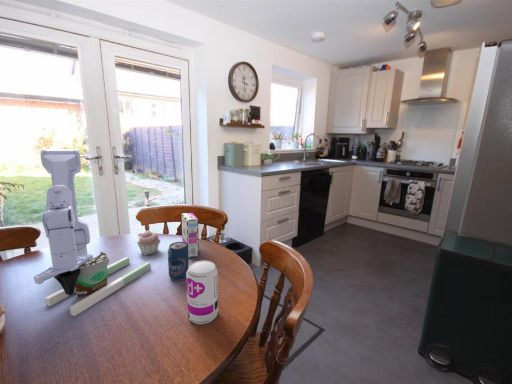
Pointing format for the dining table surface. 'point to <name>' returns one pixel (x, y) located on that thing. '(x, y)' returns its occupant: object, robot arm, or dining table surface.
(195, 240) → the candy bar box
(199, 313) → the supplement can
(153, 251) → the cupcake
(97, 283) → the food container
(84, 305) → the parallel rails
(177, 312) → the dining table surface
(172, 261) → the soda can
